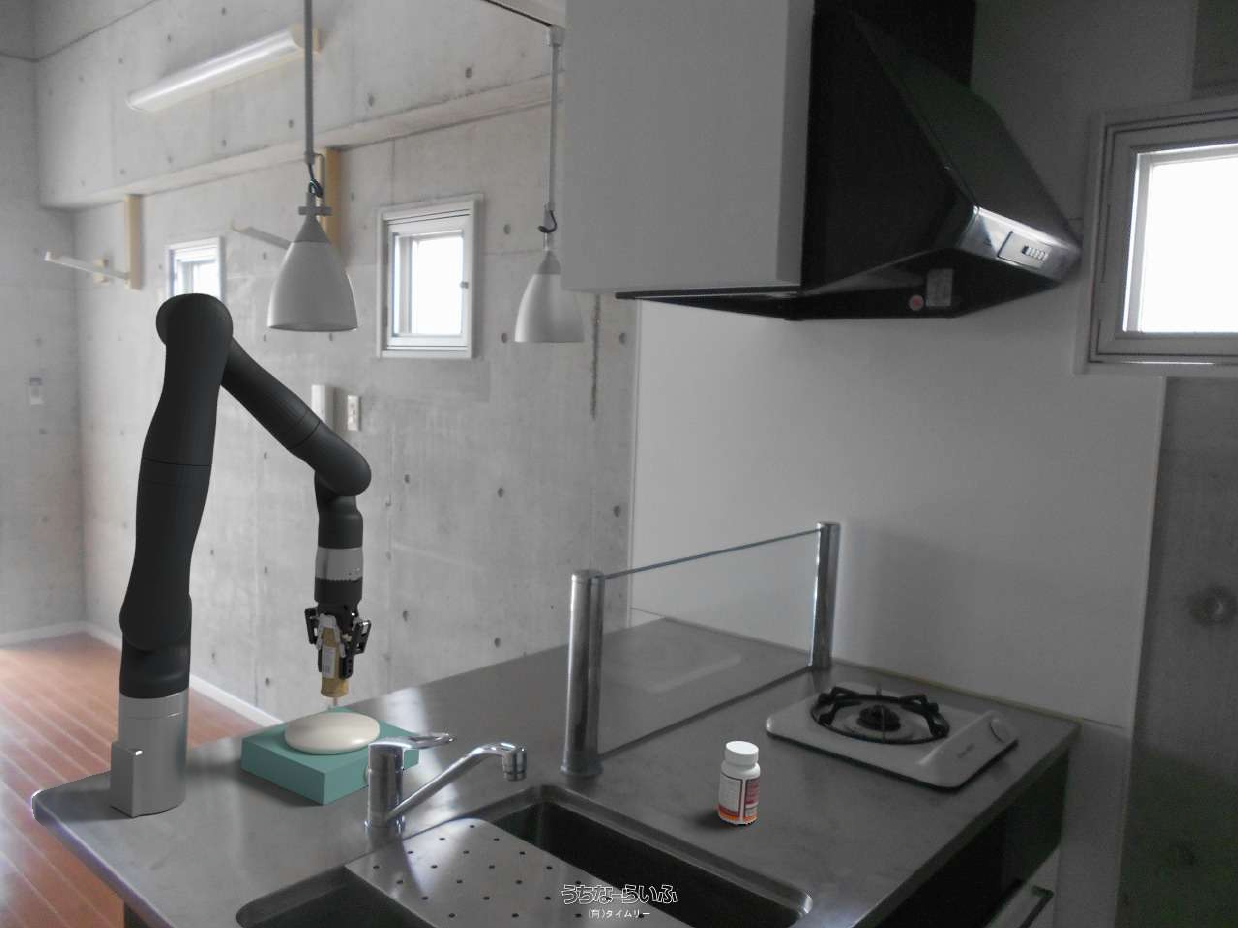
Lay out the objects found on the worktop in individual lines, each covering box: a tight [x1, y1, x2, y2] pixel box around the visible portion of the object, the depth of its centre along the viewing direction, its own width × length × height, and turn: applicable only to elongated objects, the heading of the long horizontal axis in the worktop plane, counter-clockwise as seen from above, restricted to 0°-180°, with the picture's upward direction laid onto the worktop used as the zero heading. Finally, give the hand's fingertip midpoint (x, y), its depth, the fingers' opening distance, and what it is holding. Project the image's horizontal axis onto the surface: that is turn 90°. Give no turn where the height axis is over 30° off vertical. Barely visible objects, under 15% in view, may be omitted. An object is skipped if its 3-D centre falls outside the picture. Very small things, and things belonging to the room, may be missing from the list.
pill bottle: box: [717, 740, 761, 825], centre depth 142 cm, size 6×6×11 cm
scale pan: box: [285, 712, 380, 754], centre depth 150 cm, size 15×15×1 cm
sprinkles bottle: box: [320, 614, 350, 698], centre depth 149 cm, size 5×5×13 cm
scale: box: [240, 705, 421, 806], centre depth 150 cm, size 20×20×5 cm
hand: (335, 674), depth 149 cm, fingers closed on sprinkles bottle, 4 cm apart
